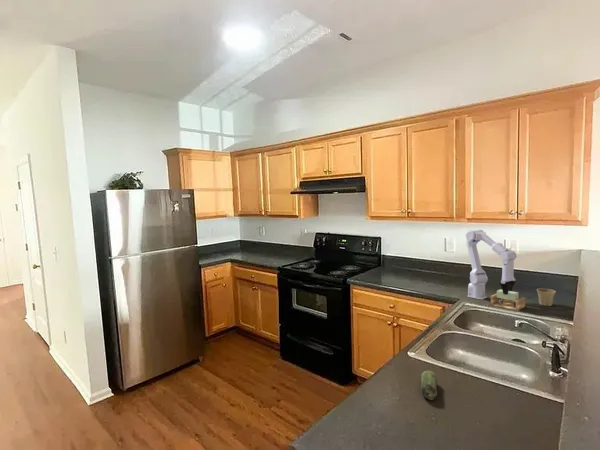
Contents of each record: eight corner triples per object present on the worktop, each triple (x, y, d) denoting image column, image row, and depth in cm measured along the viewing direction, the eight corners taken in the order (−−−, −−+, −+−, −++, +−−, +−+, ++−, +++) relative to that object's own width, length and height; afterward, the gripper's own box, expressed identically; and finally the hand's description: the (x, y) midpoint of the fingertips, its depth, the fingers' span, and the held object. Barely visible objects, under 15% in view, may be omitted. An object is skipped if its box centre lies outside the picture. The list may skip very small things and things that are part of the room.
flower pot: (536, 301, 212) (537, 287, 211) (555, 303, 206) (556, 289, 205) (535, 305, 204) (535, 290, 204) (554, 308, 198) (555, 293, 198)
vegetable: (421, 380, 124) (421, 366, 123) (436, 382, 122) (436, 369, 122) (420, 401, 111) (420, 387, 110) (437, 404, 109) (437, 389, 109)
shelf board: (496, 297, 205) (496, 290, 205) (500, 295, 208) (500, 289, 208) (515, 300, 197) (515, 294, 197) (518, 299, 200) (518, 292, 200)
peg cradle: (490, 304, 206) (490, 296, 206) (497, 301, 213) (498, 292, 213) (518, 310, 195) (518, 301, 194) (525, 306, 201) (525, 297, 201)
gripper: (510, 273, 194) (510, 297, 195) (520, 270, 203) (519, 292, 204) (497, 272, 199) (496, 294, 200) (507, 268, 208) (506, 290, 209)
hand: (507, 293), depth 203 cm, fingers closed on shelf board, 5 cm apart
